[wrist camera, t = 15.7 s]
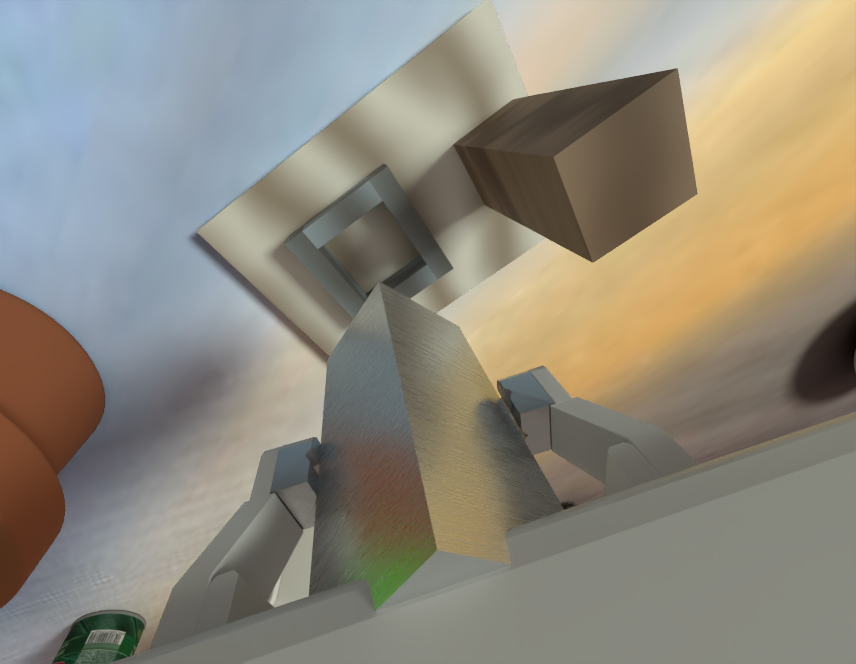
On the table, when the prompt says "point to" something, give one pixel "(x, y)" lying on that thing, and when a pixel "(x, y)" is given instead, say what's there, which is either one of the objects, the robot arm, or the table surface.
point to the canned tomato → (102, 638)
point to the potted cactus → (38, 431)
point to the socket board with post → (455, 182)
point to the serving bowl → (855, 361)
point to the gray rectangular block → (416, 459)
